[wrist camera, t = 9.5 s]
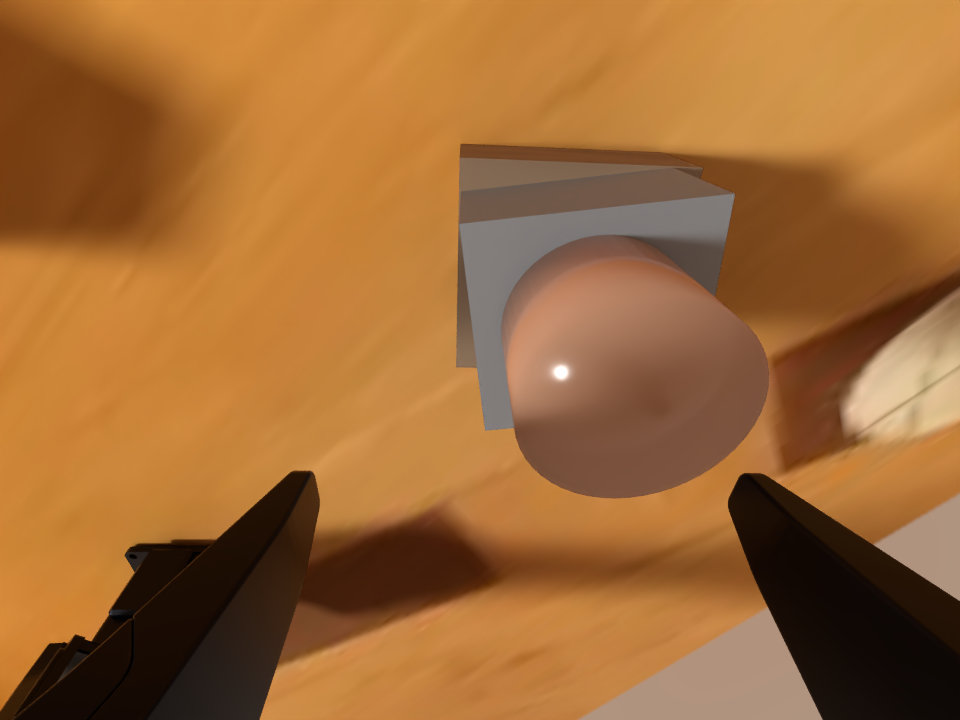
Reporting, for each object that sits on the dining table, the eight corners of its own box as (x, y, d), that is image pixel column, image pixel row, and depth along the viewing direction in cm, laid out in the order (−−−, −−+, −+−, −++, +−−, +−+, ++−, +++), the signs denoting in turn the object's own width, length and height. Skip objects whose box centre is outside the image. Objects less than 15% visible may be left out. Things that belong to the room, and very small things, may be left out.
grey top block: (651, 349, 18) (692, 410, 15) (481, 366, 19) (485, 430, 15) (672, 167, 15) (735, 193, 11) (460, 191, 15) (459, 223, 11)
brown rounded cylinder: (712, 236, 12) (812, 298, 8) (662, 401, 15) (721, 497, 11) (506, 232, 12) (523, 295, 8) (496, 401, 15) (506, 498, 11)
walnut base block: (618, 327, 22) (645, 371, 19) (457, 322, 22) (456, 367, 19) (658, 151, 18) (703, 167, 15) (460, 143, 18) (459, 157, 14)
